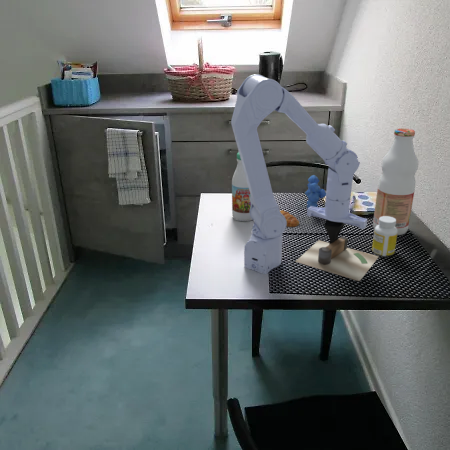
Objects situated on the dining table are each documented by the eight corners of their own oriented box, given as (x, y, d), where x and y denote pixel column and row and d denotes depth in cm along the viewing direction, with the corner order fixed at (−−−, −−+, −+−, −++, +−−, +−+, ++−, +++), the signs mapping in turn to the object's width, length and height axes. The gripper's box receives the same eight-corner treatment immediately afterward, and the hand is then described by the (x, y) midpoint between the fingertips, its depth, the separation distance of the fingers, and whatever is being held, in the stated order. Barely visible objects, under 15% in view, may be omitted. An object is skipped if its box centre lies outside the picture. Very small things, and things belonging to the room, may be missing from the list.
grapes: (326, 219, 131) (330, 181, 126) (303, 218, 132) (306, 180, 127) (324, 204, 141) (327, 168, 136) (303, 203, 142) (305, 168, 137)
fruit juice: (365, 226, 126) (377, 129, 114) (388, 219, 130) (402, 124, 118) (391, 239, 118) (407, 136, 107) (415, 231, 123) (433, 131, 111)
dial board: (359, 284, 99) (359, 280, 98) (295, 265, 107) (295, 261, 107) (378, 259, 109) (379, 256, 108) (318, 243, 117) (318, 239, 117)
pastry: (304, 225, 128) (304, 213, 126) (290, 233, 124) (291, 221, 122) (277, 217, 134) (278, 205, 132) (264, 224, 129) (264, 212, 128)
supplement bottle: (393, 250, 113) (398, 215, 109) (394, 260, 108) (400, 224, 104) (371, 248, 114) (375, 213, 110) (371, 258, 110) (376, 222, 105)
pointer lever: (326, 265, 104) (327, 253, 103) (315, 261, 106) (316, 249, 105) (349, 249, 111) (350, 237, 110) (338, 246, 113) (339, 234, 112)
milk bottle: (229, 213, 136) (227, 150, 128) (252, 210, 138) (252, 148, 130) (237, 223, 130) (236, 157, 121) (261, 219, 132) (262, 155, 123)
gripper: (374, 197, 104) (367, 248, 110) (316, 186, 111) (313, 234, 117) (363, 207, 99) (357, 260, 104) (304, 194, 106) (301, 244, 112)
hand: (333, 247), depth 111 cm, fingers closed, pressing on pointer lever
